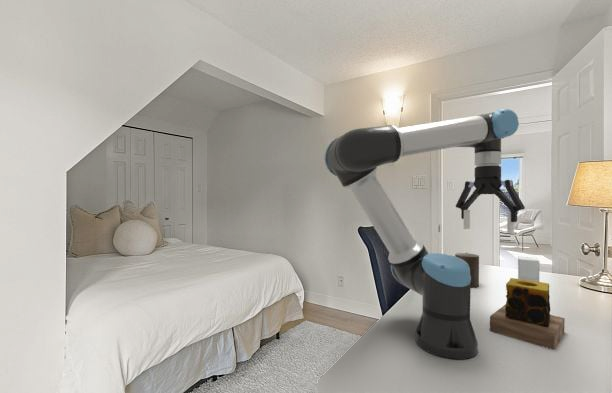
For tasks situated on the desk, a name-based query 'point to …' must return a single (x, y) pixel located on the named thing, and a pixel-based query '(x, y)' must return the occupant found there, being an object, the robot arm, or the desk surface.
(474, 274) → the pillar candle
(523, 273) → the supplement box
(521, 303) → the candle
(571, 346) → the desk surface
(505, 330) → the walnut block
